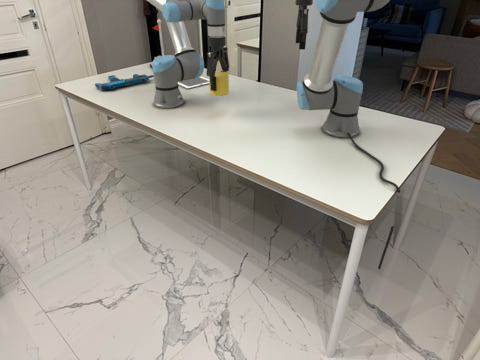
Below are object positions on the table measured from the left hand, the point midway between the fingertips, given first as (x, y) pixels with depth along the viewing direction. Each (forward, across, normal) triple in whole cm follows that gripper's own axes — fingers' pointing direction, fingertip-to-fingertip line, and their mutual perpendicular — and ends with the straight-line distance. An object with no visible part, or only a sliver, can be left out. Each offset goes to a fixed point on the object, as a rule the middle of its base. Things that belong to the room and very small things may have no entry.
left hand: (219, 87), depth 159 cm
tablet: (+13, +39, +48) cm, 63 cm away
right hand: (-16, +28, -29) cm, 43 cm away
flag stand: (+12, +59, +82) cm, 102 cm away
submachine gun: (+12, +16, +78) cm, 81 cm away
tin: (+3, 0, 0) cm, 3 cm away
